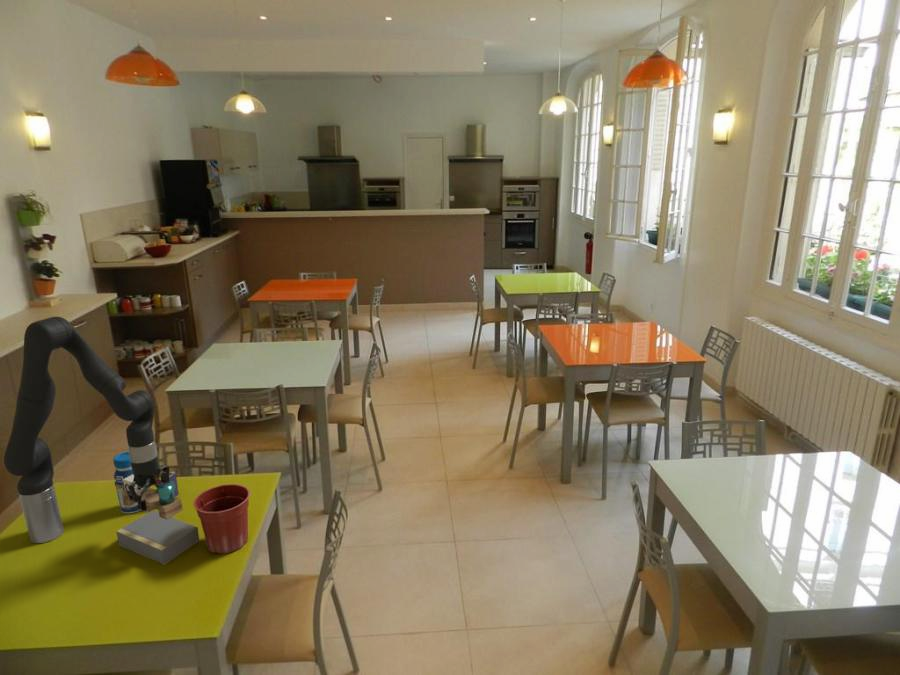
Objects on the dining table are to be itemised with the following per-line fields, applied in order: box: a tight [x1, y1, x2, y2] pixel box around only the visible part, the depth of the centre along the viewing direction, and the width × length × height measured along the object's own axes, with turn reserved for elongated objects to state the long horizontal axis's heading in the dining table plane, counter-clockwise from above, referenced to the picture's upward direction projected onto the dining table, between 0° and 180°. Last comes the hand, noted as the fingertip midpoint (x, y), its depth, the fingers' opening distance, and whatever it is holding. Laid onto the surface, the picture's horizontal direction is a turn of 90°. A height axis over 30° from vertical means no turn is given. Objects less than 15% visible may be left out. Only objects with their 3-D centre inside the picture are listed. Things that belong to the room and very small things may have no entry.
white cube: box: [123, 475, 143, 491], centre depth 188 cm, size 4×4×4 cm
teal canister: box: [156, 482, 175, 505], centre depth 181 cm, size 4×4×5 cm
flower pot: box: [193, 483, 251, 555], centre depth 188 cm, size 16×16×16 cm
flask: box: [169, 471, 180, 497], centre depth 213 cm, size 9×3×11 cm, turn 172°
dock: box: [115, 510, 200, 565], centre depth 189 cm, size 21×13×5 cm, turn 63°
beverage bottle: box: [112, 451, 141, 514], centre depth 207 cm, size 8×8×20 cm
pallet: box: [121, 487, 183, 520], centre depth 186 cm, size 20×6×4 cm, turn 63°
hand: (152, 504), depth 186 cm, fingers closed on pallet, 5 cm apart
